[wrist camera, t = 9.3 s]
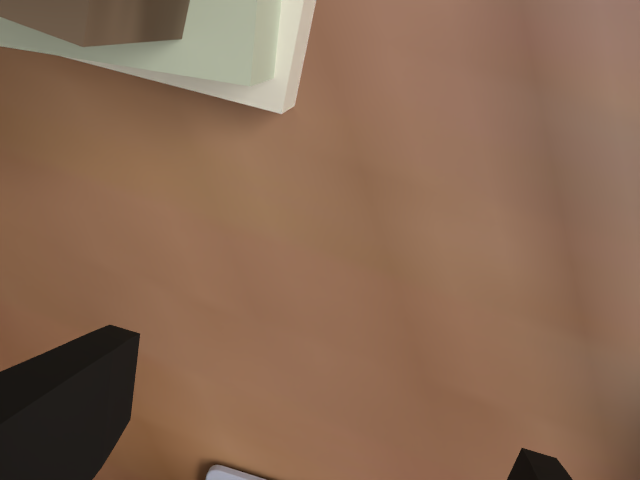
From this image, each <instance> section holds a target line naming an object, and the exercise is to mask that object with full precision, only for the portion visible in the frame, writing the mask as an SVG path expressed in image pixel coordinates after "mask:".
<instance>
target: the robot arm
mask: <svg viewBox="0 0 640 480" xmlns="http://www.w3.org/2000/svg"><path fill="white" fill-rule="evenodd" d="M139 338H140V334H139V333H136V332H133V331H129V330H126V329H123V328H119V327H116V326H113V325H108V326H105V327H103V328H100V329H98V330H95V331H93V332H91V333H88V334H86V335H84V336H81V337H79V338H77V339H75V340H72V341H70V342H68V343H66V344H63V345H61V346H59V347H57V348H54V349H52V350H50V351H48V352H45V353H43V354H41V355H38V356H36V357H34V358H31V359H29V360H27V361H24V362H22V363H20V364H18V365H15V366H13V367H11V368H8V369H6V370H3V371H1V372H0V480H92V479H93V478H94V477H95V475H96V474H97V473H98V471H99V470H100V469H101V467H102V466H103V464H104V463H105V461H106V460H107V458H108V456H109V455H110V453H111V451H112V450H113V448H114V446H115V445H116V443H117V441H118V440H119V438H120V436H121V435H122V433H123V431H124V429H125V428H126V426H127V424H128V422H129V421H130V418H131V409H132V400H133V391H134V382H135V374H136V365H137V356H138V347H139ZM206 480H266V479H263V478H260V477H257V476H254V475H250V474H247V473H244V472H241V471H238V470H235V469H231V468H228V467H225V466H222V465H213V466H212V467H210V469H209V471H208V473H207V475H206ZM507 480H572V478H571V477H570V475H569V474H568V473H567V471H566V470H565V469H564V467H563V466H562V465H561V464H560V462H559V461H558V460H557V458H554V457H551V456H547V455H544V454H541V453H537V452H534V451H531V450H527V449H524V448H522V449H521V451H520V453H519V455H518V457H517V459H516V462H515V464H514V466H513V468H512V470H511V472H510V474H509V476H508V479H507Z"/></svg>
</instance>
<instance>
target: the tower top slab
mask: <svg viewBox="0 0 640 480" xmlns="http://www.w3.org/2000/svg"><path fill="white" fill-rule="evenodd" d="M281 1H282V0H190V3H189V7H188V12H187V17H186V22H185V26H184V31H183V36H182V39H178V40H165V41H153V42H141V43H128V44H116V45H103V46H91V47H81V46H78V45H76V44H73V43H70V42H67V41H65V40H62V39H59V38H56V37H54V36H51V35H48V34H46V33H43V32H40V31H37V30H35V29H32V28H29V27H26V26H24V25H21V24H18V23H16V22H13V21H10V20H7V19H5V18H2V17H0V46H2V47H8V48H14V49H21V50H27V51H33V52H39V53H45V54H52V55H58V56H64V57H70V58H77V59H83V60H89V61H95V62H102V63H108V64H114V65H120V66H126V67H133V68H139V69H145V70H151V71H158V72H164V73H170V74H176V75H183V76H189V77H195V78H201V79H208V80H214V81H220V82H226V83H232V84H239V85H245V86H253V85H255V84H258V83H261V82H264V81H267V80H270V79H273V78H274V73H275V62H276V52H277V42H278V32H279V22H280V12H281Z"/></svg>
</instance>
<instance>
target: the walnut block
mask: <svg viewBox="0 0 640 480" xmlns="http://www.w3.org/2000/svg"><path fill="white" fill-rule="evenodd" d="M189 3H190V0H0V17H2V18H5V19H7V20H10V21H13V22H16V23H18V24H21V25H24V26H26V27H29V28H32V29H35V30H37V31H40V32H43V33H46V34H48V35H51V36H54V37H56V38H59V39H62V40H65V41H67V42H70V43H73V44H76V45H78V46H81V47H91V46H103V45H116V44H128V43H141V42H153V41H165V40H178V39H182V36H183V31H184V26H185V22H186V17H187V12H188V7H189Z"/></svg>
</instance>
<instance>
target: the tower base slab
mask: <svg viewBox="0 0 640 480" xmlns="http://www.w3.org/2000/svg"><path fill="white" fill-rule="evenodd" d="M315 4H316V0H282V1H281V12H280V22H279V32H278V42H277V52H276V62H275V73H274V78H273V79H270V80H267V81H264V82H261V83H258V84H255V85H253V86H245V85H239V84H232V83H226V82H220V81H214V80H208V79H201V78H195V77H189V76H183V75H176V74H170V73H164V72H158V71H151V70H145V69H139V68H133V67H126V66H120V65H114V64H108V63H102V62H95V61H89V60H83V59H77V58H70V57H65V58H69V59H73V60H77V61H81V62H84V63H88V64H92V65H96V66H100V67H104V68H107V69H111V70H115V71H119V72H123V73H126V74H130V75H134V76H138V77H142V78H146V79H149V80H153V81H157V82H161V83H165V84H169V85H172V86H176V87H180V88H184V89H188V90H192V91H195V92H199V93H203V94H207V95H211V96H215V97H218V98H222V99H226V100H230V101H234V102H238V103H241V104H245V105H249V106H253V107H257V108H261V109H264V110H268V111H272V112H276V113H280V114H282V113H284V112H286V111H287V110H289V109H290V108H292V107H294V106H295V102H296V97H297V92H298V87H299V82H300V77H301V72H302V67H303V62H304V58H305V53H306V48H307V43H308V38H309V33H310V28H311V23H312V18H313V13H314V9H315ZM61 57H64V56H61Z"/></svg>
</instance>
